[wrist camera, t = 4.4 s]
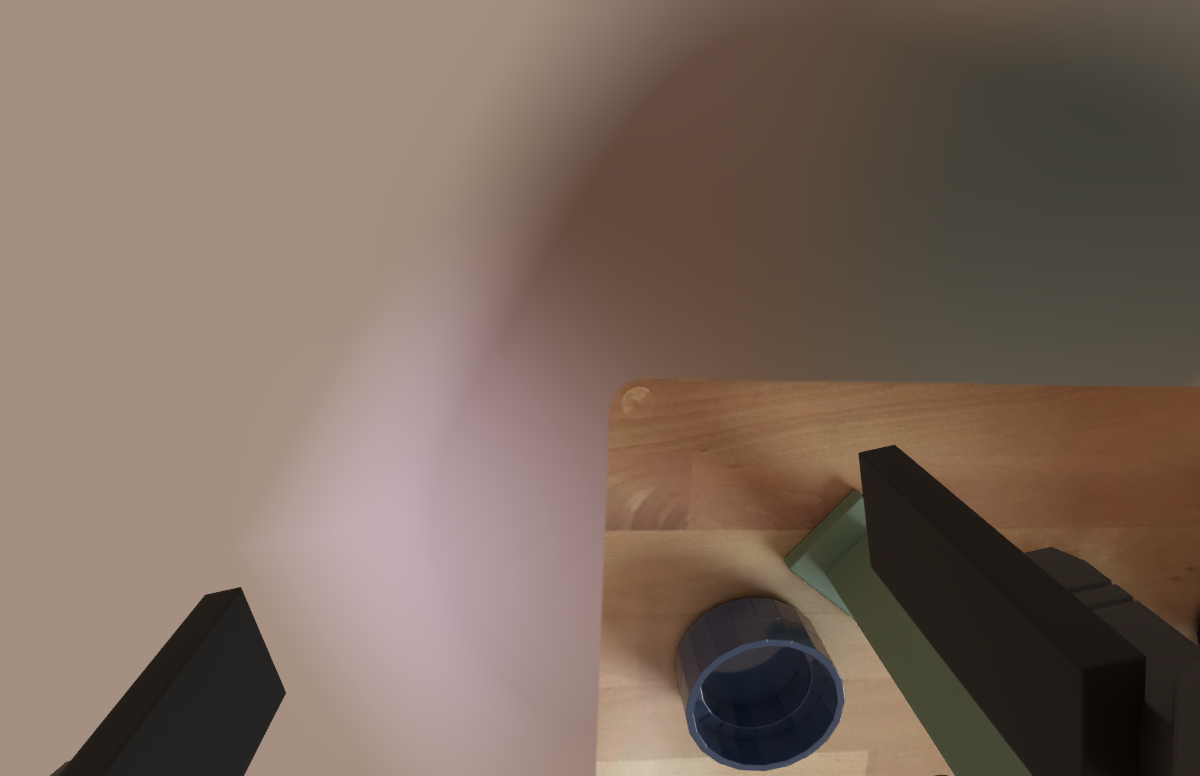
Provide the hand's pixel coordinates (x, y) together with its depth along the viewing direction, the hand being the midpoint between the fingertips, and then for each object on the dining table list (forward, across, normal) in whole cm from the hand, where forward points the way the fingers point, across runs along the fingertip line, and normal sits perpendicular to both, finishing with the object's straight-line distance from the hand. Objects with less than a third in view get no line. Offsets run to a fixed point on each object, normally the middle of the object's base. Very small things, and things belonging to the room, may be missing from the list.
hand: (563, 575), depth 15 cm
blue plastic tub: (+37, +8, -34) cm, 51 cm away
